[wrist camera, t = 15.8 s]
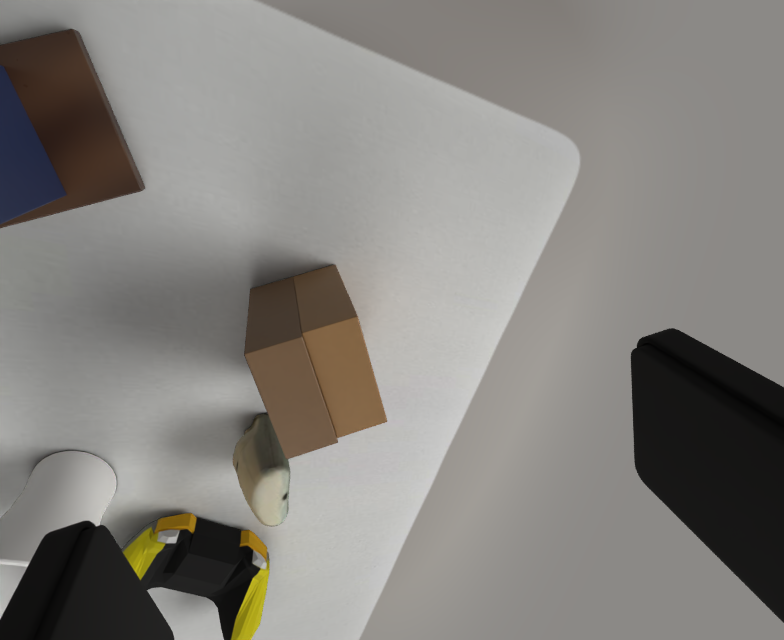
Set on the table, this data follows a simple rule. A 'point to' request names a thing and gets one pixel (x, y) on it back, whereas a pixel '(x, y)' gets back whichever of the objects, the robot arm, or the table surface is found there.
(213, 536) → the gaming controller
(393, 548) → the table surface
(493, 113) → the table surface
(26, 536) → the cup
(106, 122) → the blue bookends on base
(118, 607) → the robot arm
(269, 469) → the grey-green rounded box
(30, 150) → the navy book
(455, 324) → the table surface
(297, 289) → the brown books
